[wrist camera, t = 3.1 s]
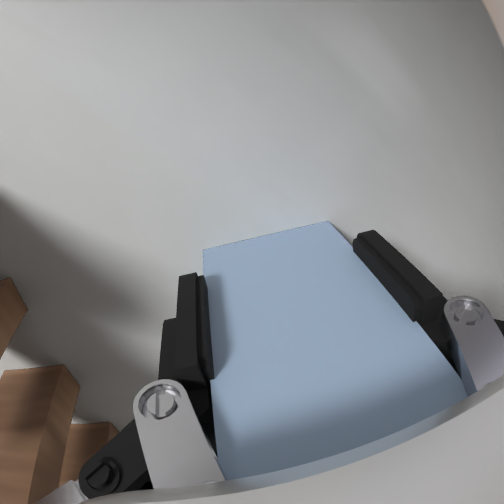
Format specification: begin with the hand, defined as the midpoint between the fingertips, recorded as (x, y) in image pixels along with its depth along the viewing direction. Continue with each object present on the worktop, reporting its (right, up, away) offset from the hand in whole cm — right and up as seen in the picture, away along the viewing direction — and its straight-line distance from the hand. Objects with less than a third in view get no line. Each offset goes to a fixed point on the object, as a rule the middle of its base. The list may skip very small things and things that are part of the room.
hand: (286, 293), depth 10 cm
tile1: (0, +1, +2) cm, 3 cm away
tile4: (-13, -6, +4) cm, 15 cm away
